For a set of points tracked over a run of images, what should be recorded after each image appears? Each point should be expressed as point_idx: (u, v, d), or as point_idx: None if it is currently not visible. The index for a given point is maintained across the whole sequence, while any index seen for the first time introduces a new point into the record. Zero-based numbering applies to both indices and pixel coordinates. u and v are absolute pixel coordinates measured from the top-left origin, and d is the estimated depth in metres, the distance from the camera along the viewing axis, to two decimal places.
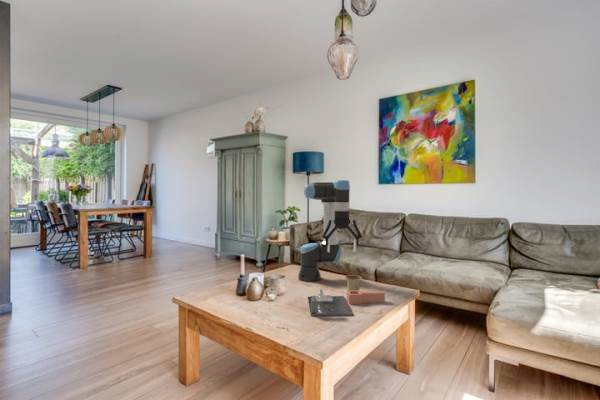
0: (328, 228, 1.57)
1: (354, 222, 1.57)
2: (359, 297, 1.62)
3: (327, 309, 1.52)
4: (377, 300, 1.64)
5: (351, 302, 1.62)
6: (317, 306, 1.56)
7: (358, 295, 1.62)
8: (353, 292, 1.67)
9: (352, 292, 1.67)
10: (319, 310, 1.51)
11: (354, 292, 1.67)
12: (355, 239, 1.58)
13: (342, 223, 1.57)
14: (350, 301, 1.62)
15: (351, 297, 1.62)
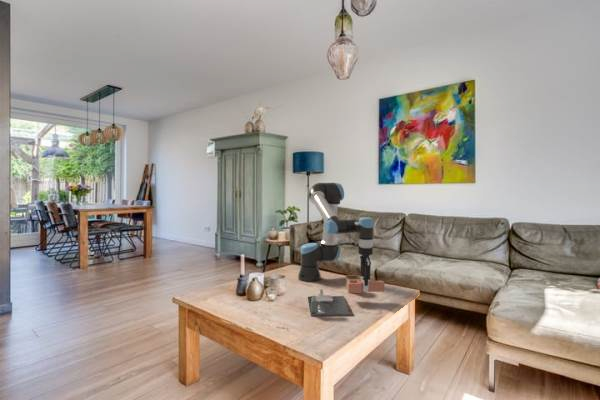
0: None
1: (365, 263, 1.59)
2: (359, 286, 1.62)
3: (327, 309, 1.52)
4: (377, 289, 1.65)
5: (351, 291, 1.62)
6: (317, 306, 1.56)
7: (358, 285, 1.62)
8: (352, 281, 1.68)
9: (352, 281, 1.68)
10: (319, 310, 1.51)
11: (354, 281, 1.68)
12: (363, 279, 1.64)
13: (363, 257, 1.65)
14: (350, 290, 1.62)
15: (351, 286, 1.62)
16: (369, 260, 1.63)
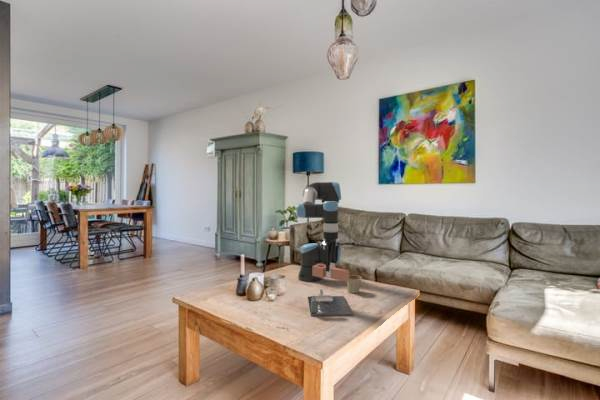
0: None
1: None
2: (320, 270, 1.59)
3: (327, 309, 1.52)
4: (339, 278, 1.54)
5: (314, 274, 1.62)
6: (317, 306, 1.56)
7: (320, 269, 1.59)
8: (323, 266, 1.65)
9: (322, 266, 1.65)
10: (319, 310, 1.51)
11: (324, 266, 1.64)
12: None
13: None
14: (313, 273, 1.62)
15: (314, 269, 1.62)
16: (331, 245, 1.56)
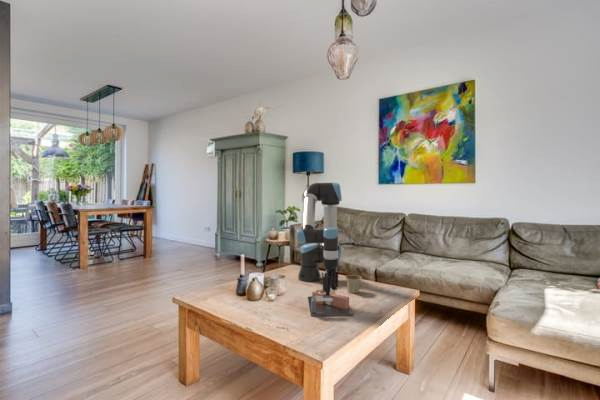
0: None
1: None
2: None
3: (327, 309, 1.52)
4: (339, 305, 1.55)
5: None
6: (317, 306, 1.56)
7: (319, 295, 1.60)
8: (323, 292, 1.65)
9: None
10: (319, 310, 1.51)
11: (324, 292, 1.65)
12: None
13: None
14: None
15: (314, 295, 1.62)
16: (331, 272, 1.57)
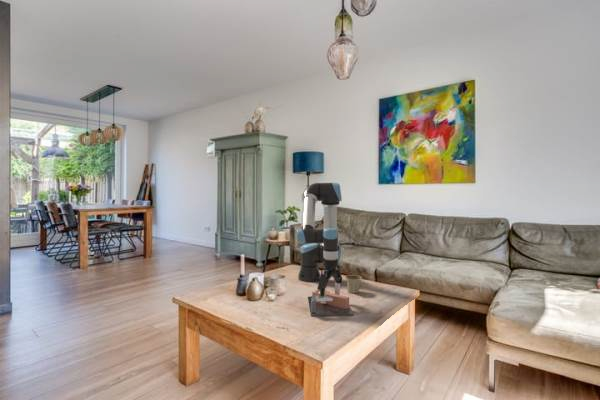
0: (335, 272, 1.66)
1: None
2: None
3: (327, 309, 1.52)
4: (339, 305, 1.55)
5: None
6: (317, 306, 1.56)
7: (319, 295, 1.60)
8: None
9: None
10: (319, 310, 1.51)
11: None
12: None
13: None
14: None
15: (314, 295, 1.62)
16: (331, 272, 1.57)
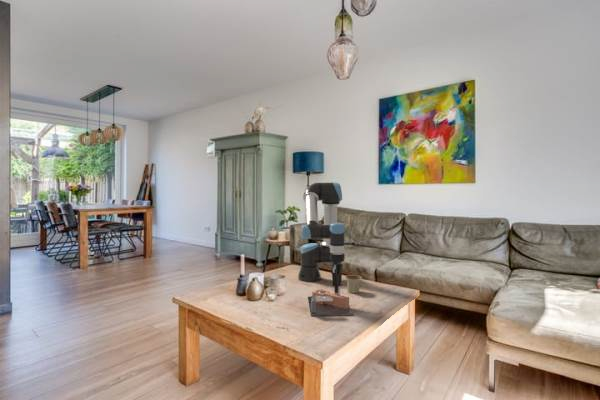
0: None
1: None
2: None
3: (327, 309, 1.52)
4: (339, 305, 1.55)
5: None
6: (317, 306, 1.56)
7: (319, 295, 1.60)
8: (323, 292, 1.65)
9: None
10: (319, 310, 1.51)
11: (324, 292, 1.65)
12: (334, 285, 1.60)
13: None
14: None
15: (314, 295, 1.62)
16: (339, 267, 1.57)
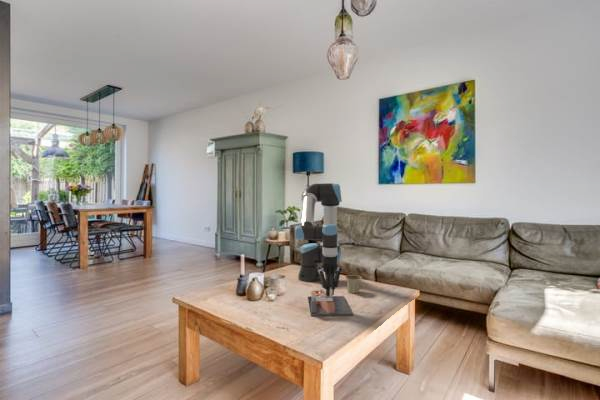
0: None
1: None
2: None
3: None
4: (325, 308, 1.51)
5: None
6: (317, 306, 1.56)
7: (314, 295, 1.60)
8: (323, 293, 1.64)
9: None
10: (319, 310, 1.51)
11: None
12: None
13: None
14: None
15: (312, 294, 1.64)
16: (328, 270, 1.53)
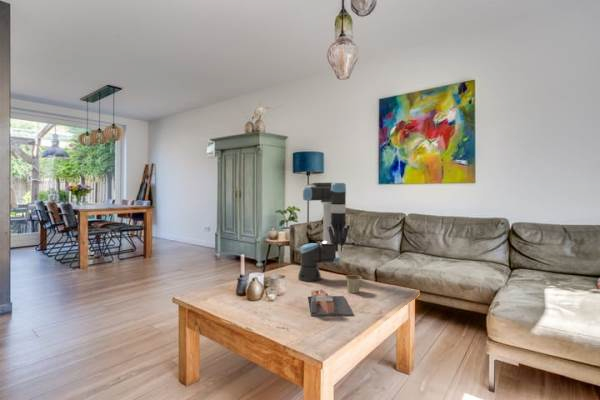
0: None
1: None
2: None
3: None
4: (325, 308, 1.51)
5: None
6: (317, 306, 1.56)
7: (314, 295, 1.60)
8: (323, 293, 1.64)
9: None
10: (319, 310, 1.51)
11: None
12: None
13: None
14: None
15: (312, 294, 1.64)
16: (336, 226, 1.59)
